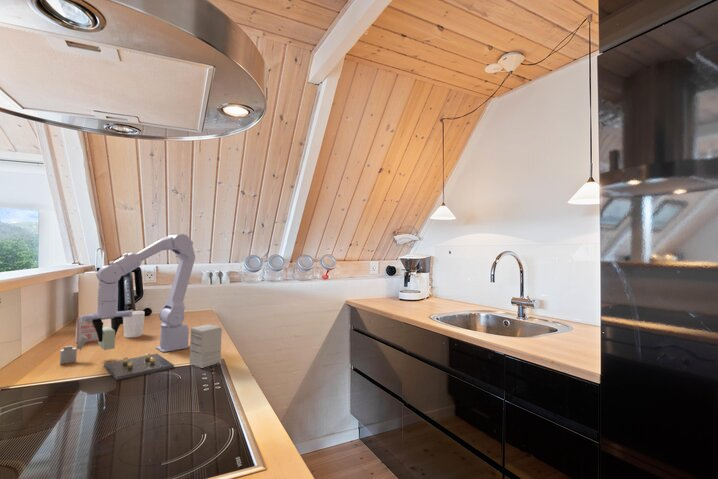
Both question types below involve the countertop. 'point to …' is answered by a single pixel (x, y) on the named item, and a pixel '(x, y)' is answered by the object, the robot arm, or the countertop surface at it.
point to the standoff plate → (137, 366)
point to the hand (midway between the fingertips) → (106, 340)
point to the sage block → (107, 338)
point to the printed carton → (85, 331)
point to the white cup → (133, 324)
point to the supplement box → (205, 345)
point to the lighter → (71, 352)
